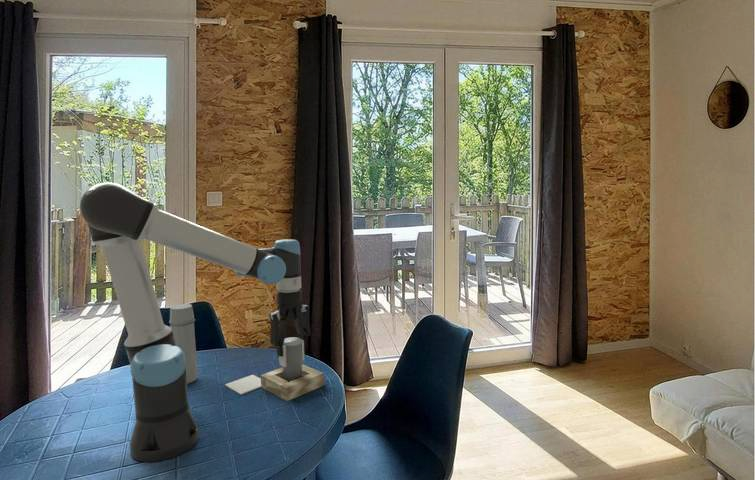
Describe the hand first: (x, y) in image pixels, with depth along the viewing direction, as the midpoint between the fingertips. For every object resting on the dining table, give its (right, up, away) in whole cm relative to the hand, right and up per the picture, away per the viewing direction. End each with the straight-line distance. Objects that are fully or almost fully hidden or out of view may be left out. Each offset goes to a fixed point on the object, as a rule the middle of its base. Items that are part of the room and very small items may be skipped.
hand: (292, 362), depth 138 cm
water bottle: (-36, -8, +8) cm, 38 cm away
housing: (0, -8, +1) cm, 8 cm away
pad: (-15, -8, +3) cm, 17 cm away
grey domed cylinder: (0, -5, +1) cm, 5 cm away
